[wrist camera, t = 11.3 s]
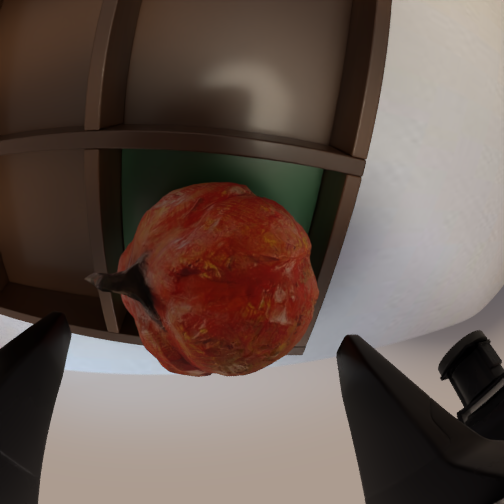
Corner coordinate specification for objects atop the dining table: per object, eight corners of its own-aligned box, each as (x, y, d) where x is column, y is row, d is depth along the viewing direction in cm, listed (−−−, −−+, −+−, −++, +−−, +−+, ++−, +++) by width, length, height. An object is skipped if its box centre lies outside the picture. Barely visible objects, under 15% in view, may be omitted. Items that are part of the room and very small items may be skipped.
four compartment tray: (292, 317, 18) (302, 355, 15) (10, 283, 15) (-11, 310, 12) (363, -22, 8) (394, -43, 5) (5, -6, 5) (-25, -13, 2)
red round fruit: (302, 193, 15) (164, 84, 7) (373, 314, 12) (283, 350, 4) (206, 265, 18) (53, 235, 9) (252, 375, 15) (87, 422, 6)
